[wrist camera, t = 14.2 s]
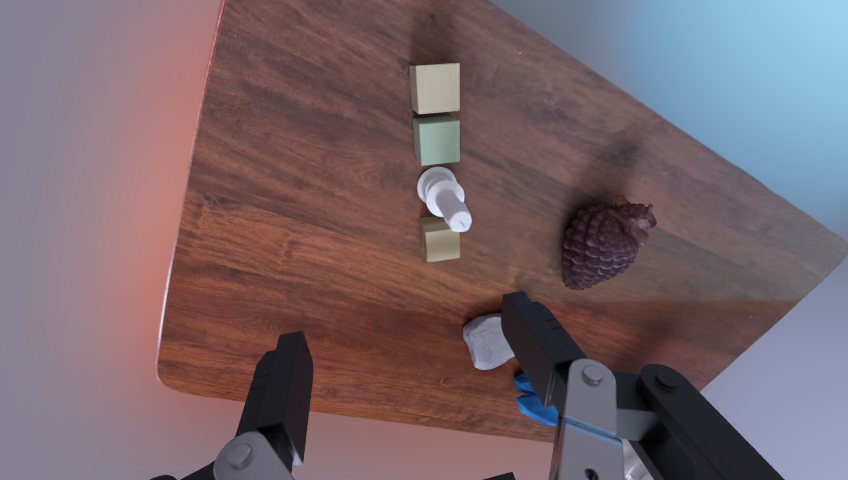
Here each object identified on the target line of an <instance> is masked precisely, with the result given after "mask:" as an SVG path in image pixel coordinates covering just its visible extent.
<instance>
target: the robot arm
mask: <svg viewBox="0 0 848 480" xmlns="http://www.w3.org/2000/svg"><path fill="white" fill-rule="evenodd" d="M501 328H502V332H503V335H504V337H505V339H506V341H507V342H508V344H509V346H510V348H511V350H512V351H513V353H514V355H515V357H516V359H517V360H518V362H519V364H520V366H521V368H522V369H523V371H524V373H525V375H526V377H527V378H528V380H529V382H530V384H531V386H532V387H533V389H534V391H535V393H536V394H537V396H538V398H539V400H540V402H541V403H542V405H543V407H544V408H547V407H551V406H555V408H556V409H557V411H558V417H557V424H556V432H555V439H554V447H553V454H552V462H551V468H550V474H549V479H548V480H625V479H624V453H623V443H622V440H621V439H627V440H628V442H629V443H630V445H631V446H632V448H633V449H634V451H635V452H636V454H637V455H638V457H639V458H640V460H641V461H642V463H643V464H644V466H645V467H646V469H647V470H648V472H649V473H650V475H651V476H652V478H653V479H654V480H784V479H783V478H782V477H781V476H780V475H779V473H778V472H777V471H776V470H775V469H774V468H773V467H772V466H771V465H770V464H769V463H768V462H767V461H766V460H765V459H764V458H763V457H762V456H761V455H760V454H759V453H758V452H757V451H756V450H755V449H754V448H753V447H752V446H751V445H750V444H749V443H748V442H747V441H746V440H745V439H744V438H743V437H742V436H741V435H740V433H738V431H736V429H735V428H734V427H733V426H732V425H731V424H730V423H729V422H728V421H727V420H726V419H725V418H724V417H723V416H722V415H721V414H720V413H719V412H718V411H717V410H716V409H715V408H714V407H713V406H712V405H711V404H710V403H709V402H708V401H707V400H706V399H705V398H704V397H703V396H702V395H701V394H700V392H699V391H698V390H697V389H696V388H695V387H694V386H693V385H692V384H691V383H690V382H689V381H688V380H687V379H686V378H685V377H684V376H683V375H681V374H680V373H679V372H677V371H675V370H674V369H672V368H669V367H667V366H664V365H660V364H649V365H646V366H644V367H643V368H642V369H641V372H640V374H630V373H618V372H612V371H610V370H609V369H608V368H607V367H606V366H605V365H603V364H601V363H600V362H597V361H595V360H592V359H588V358H587V357H586V355H585V354H584V353H583V352H582V350H581V349H580V348H579V347H578V345H577V344H576V343H575V342H574V340H573V339H572V338H571V337H570V335H569V334H568V333H567V332H566V330H565V329H564V328H562V325H561V324H560V323H559V321H558V320H556V318H555V316H554V315H553V314H552V313H551V311H550V310H549V309H548V308H546V307H545V306H543V305H542V304H540V303H539V302H537V301H536V302H531V301H530V300H529V299H528V297H527V296H526V295H525V293H524V292H522V291H520V292H515V293H509V294H504V295H503V300H502V313H501ZM312 382H313V361H312V357H311V354H310V351H309V348H308V345H307V342H306V339H305V336H304V334H303V332H302V331H298V332H292V333H287V334H281V335H280V337H279V340H278V344H277V348H276V350H273V351H268V352H266V353H265V355H264V356H263V357H262V359H261V360H260V361H259V363H258V364H257V366H256V370H255V373H254V376H253V380H252V383H251V386H250V391H249V393H248V396H247V400H246V403H245V406H244V410H243V413H242V416H241V420H240V423H239V426H238V429H237V433H236V435H235V438H234V439H232V440H231V441H230V442H229V443H227V444H226V446H225V447H224V448H223V449H222V450H221V452H220V453H219V455H218V456H217V458H216V460H215V461H213V462H212V463H211V464H209V465H207V466H205V467H204V468H202V469H200V470H198V471H196V472H194V473H192V474H190V475H189V476H186V477H185V478H183V479H181V480H295V479H294V478H293V477H292V475H291V471H292V467H296V466H299V465H303V460H304V451H305V442H306V434H307V425H308V416H309V408H310V399H311V390H312ZM618 438H619V439H618ZM151 480H176V479H175V478H174V477H173V476H170V475H162V476H158V477H155V478H152V479H151ZM484 480H515V477H514V475H513V472H510V473H506V474H503V475H499V476H495V477H491V478H487V479H484Z"/></svg>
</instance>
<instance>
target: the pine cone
mask: <svg viewBox="0 0 848 480" xmlns="http://www.w3.org/2000/svg"><path fill="white" fill-rule="evenodd" d="M614 204H615V207H614V206H613V205H607V206H604V205H599V206H597V207H596V208H595V207H590V208H589V209H588V210H587V211H584V210H580V211H579V212H578V219H575V220H573V222H572V224H571V225H572V228H570V229H568V230H567V231H566V234H565V235H566V237H567V238H566V239H565V240H564V242H563V245H564V249H563V250H562V252H563V255H564V256H563V259H562V265H563V267H562V272H563V274H562V276H563V282H564V283H565V286H566V287H569V288H570V289H572V290H573V289H575V290H578V289H579V290H584V288H591V286H592V285H595V284H597V283H599V282H602V281H604V280H608V279H610V277H614V276H616V275H617V274H619V273H623V271H624V270H626V269H627V268H628V267H629V265H630V264H632V263H633V262H634V258H636V254H637V252H638V248H639V247H641V246H643V245H645V244H646V242H647V239H648V237H649V234H648V232H647V231H646V230H647V229H648V227H651V228H653V227H655V225H656V223H657V222H656V219H655V218H654V215H653V214H652V208H653V205H652V204H649V206H648V207H645V206H644V204H631V203H630V202H629V201H628V200H627V199H626V198H625V197H624V196H623V195H620V196H617V197H616V199H615V203H614Z"/></svg>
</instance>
